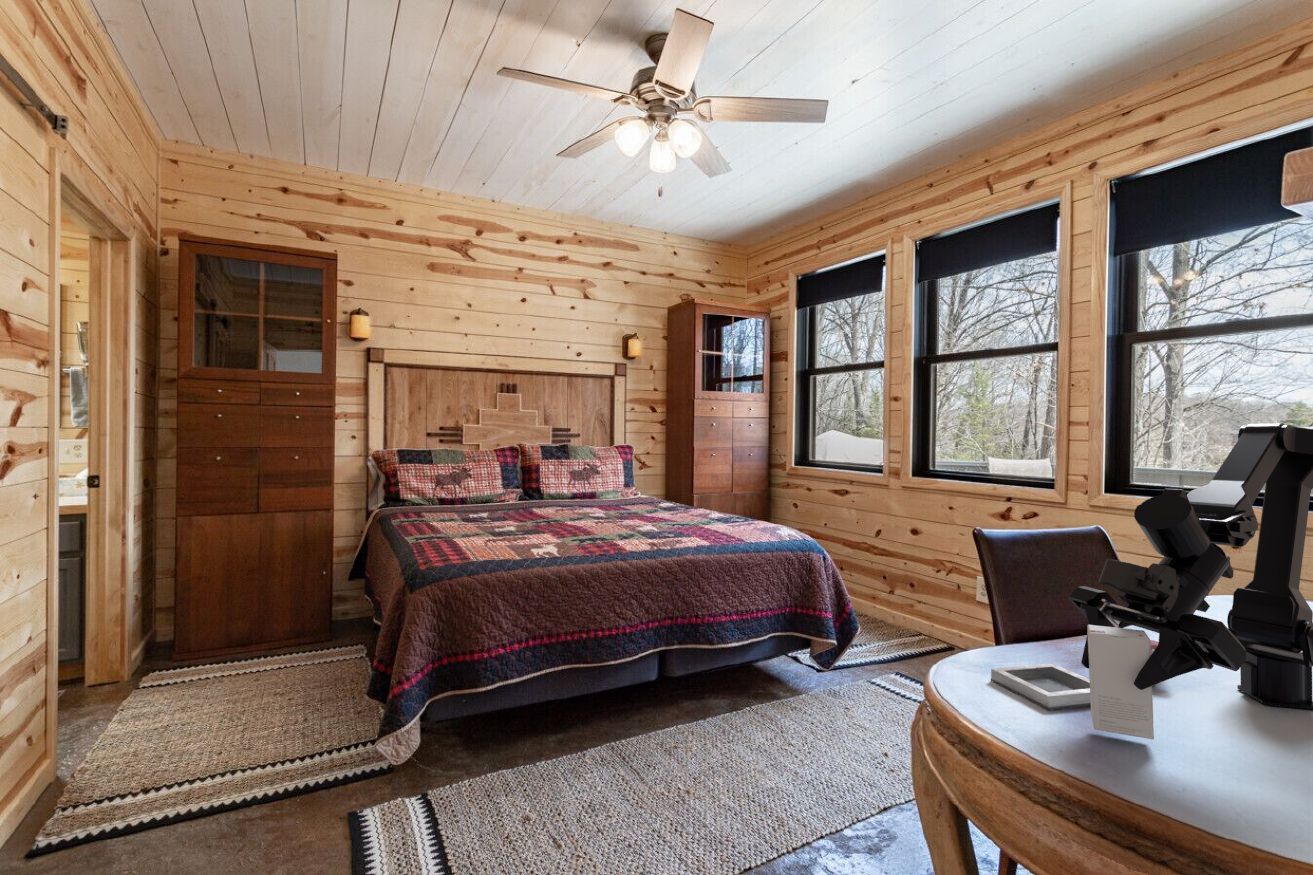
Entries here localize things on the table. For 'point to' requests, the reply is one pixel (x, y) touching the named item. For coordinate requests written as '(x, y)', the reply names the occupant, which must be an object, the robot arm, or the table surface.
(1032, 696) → the collar
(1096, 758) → the table surface
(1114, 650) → the skincare box
